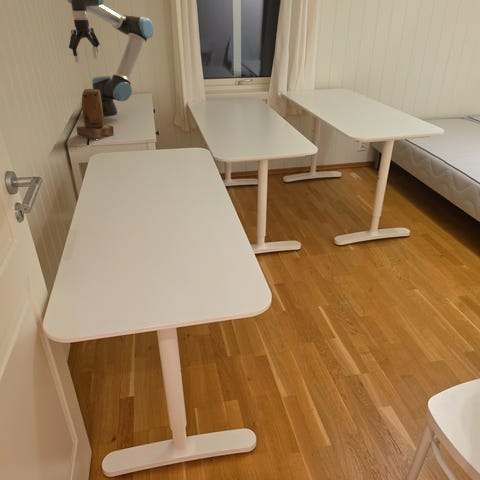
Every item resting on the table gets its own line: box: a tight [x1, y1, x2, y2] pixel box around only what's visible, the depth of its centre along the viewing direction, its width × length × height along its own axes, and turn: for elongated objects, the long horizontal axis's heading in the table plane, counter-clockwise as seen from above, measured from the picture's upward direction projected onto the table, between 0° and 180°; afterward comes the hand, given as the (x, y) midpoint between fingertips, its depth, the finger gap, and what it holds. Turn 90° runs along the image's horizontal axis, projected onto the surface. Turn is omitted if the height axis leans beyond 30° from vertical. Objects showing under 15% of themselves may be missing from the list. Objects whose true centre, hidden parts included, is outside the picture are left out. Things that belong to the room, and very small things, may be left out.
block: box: [81, 88, 105, 128], centre depth 247 cm, size 11×8×20 cm
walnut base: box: [75, 123, 115, 141], centre depth 253 cm, size 14×14×5 cm
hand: (86, 60), depth 256 cm, fingers open, 13 cm apart
